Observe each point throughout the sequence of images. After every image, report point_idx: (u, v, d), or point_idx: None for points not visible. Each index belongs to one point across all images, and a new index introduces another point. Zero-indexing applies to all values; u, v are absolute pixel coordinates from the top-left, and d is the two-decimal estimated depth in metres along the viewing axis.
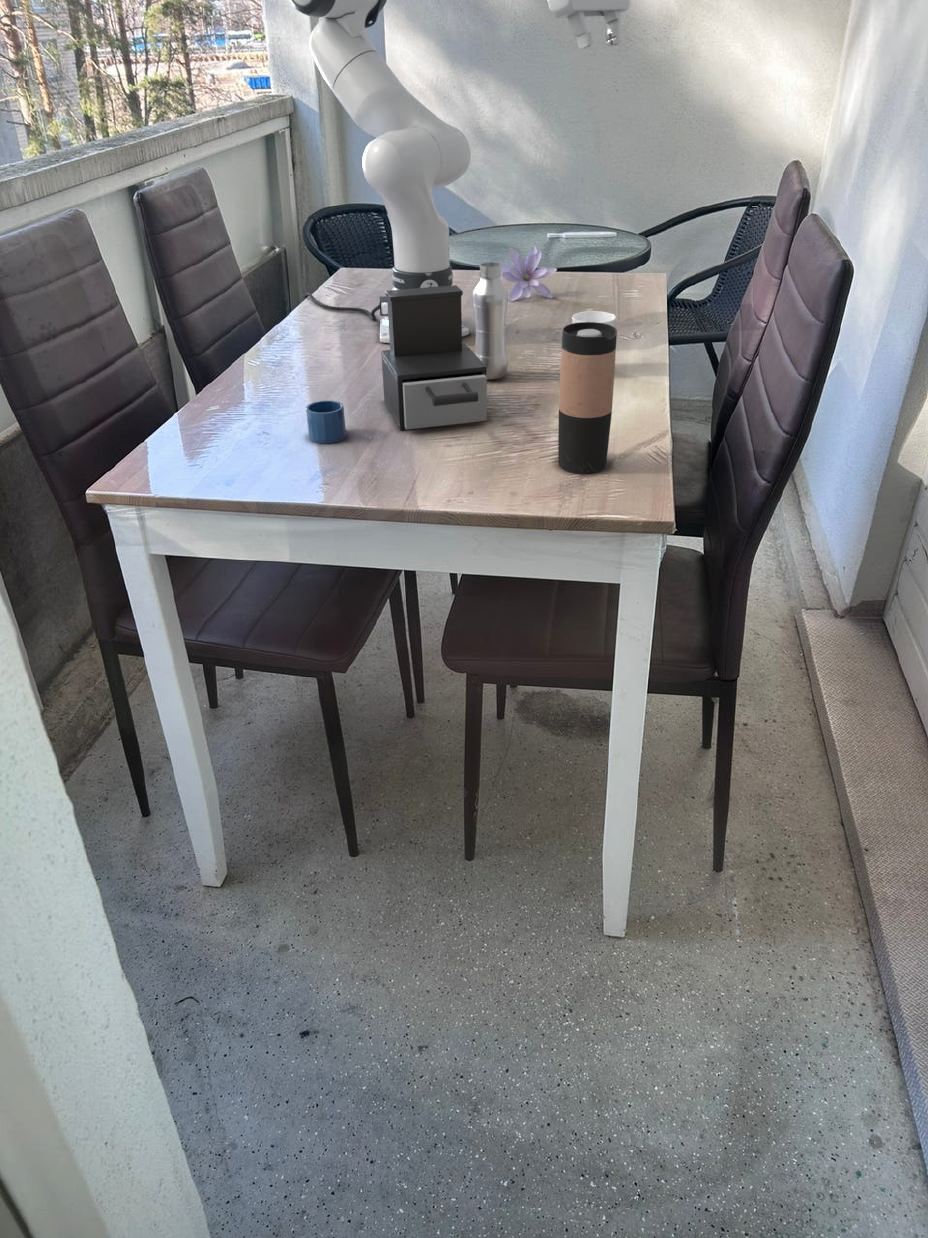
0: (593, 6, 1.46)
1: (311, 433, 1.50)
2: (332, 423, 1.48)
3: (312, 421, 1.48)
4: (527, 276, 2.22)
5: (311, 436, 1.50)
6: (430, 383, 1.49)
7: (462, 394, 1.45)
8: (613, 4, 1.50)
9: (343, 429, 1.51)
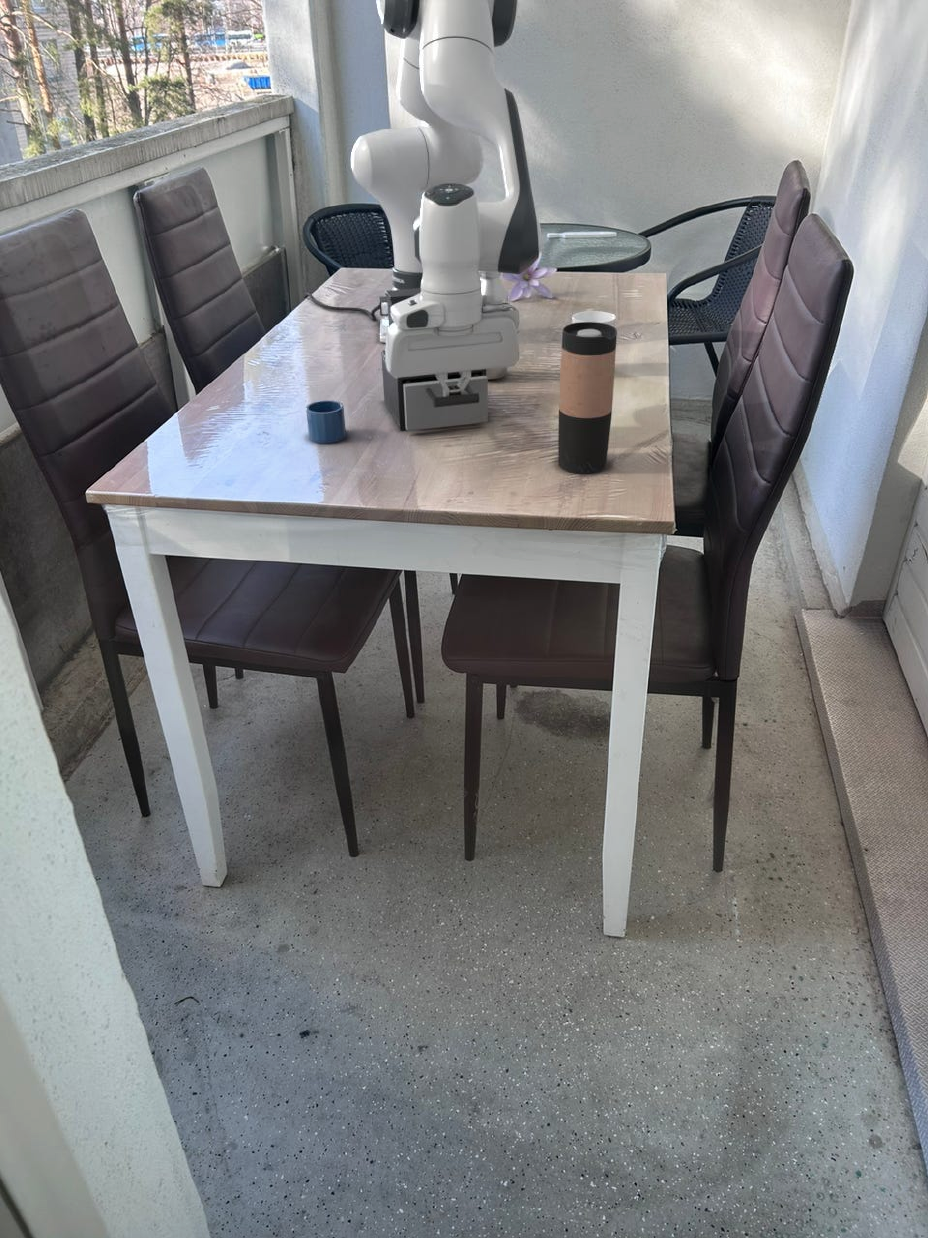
0: (436, 372, 1.41)
1: (311, 433, 1.50)
2: (332, 423, 1.48)
3: (312, 421, 1.48)
4: (527, 276, 2.22)
5: (311, 436, 1.50)
6: (431, 384, 1.48)
7: (463, 395, 1.44)
8: (478, 366, 1.43)
9: (343, 429, 1.51)
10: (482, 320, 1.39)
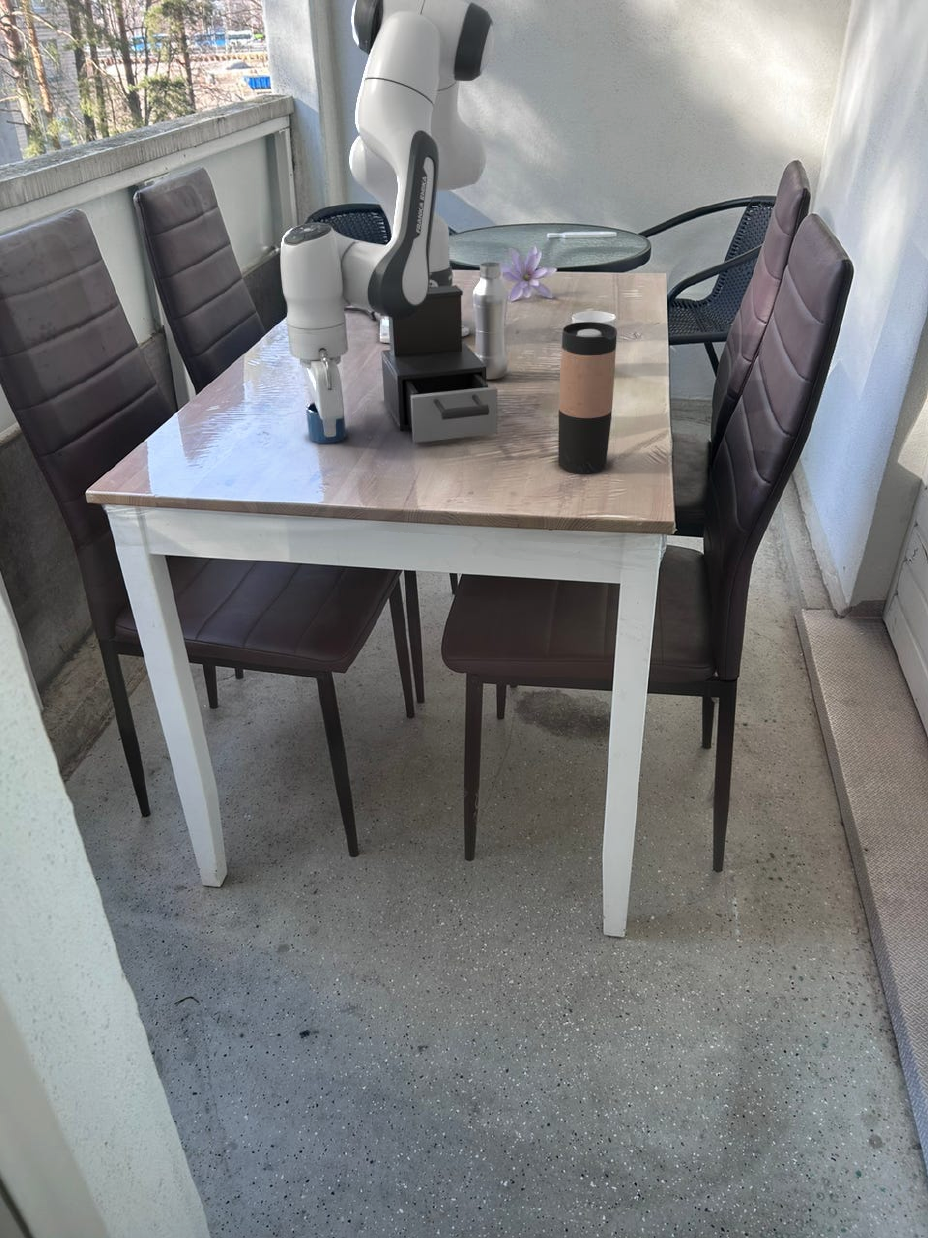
0: None
1: (311, 433, 1.50)
2: None
3: (312, 421, 1.48)
4: (527, 276, 2.22)
5: (311, 436, 1.50)
6: (439, 395, 1.44)
7: (472, 407, 1.40)
8: None
9: (343, 429, 1.51)
10: (312, 361, 1.41)
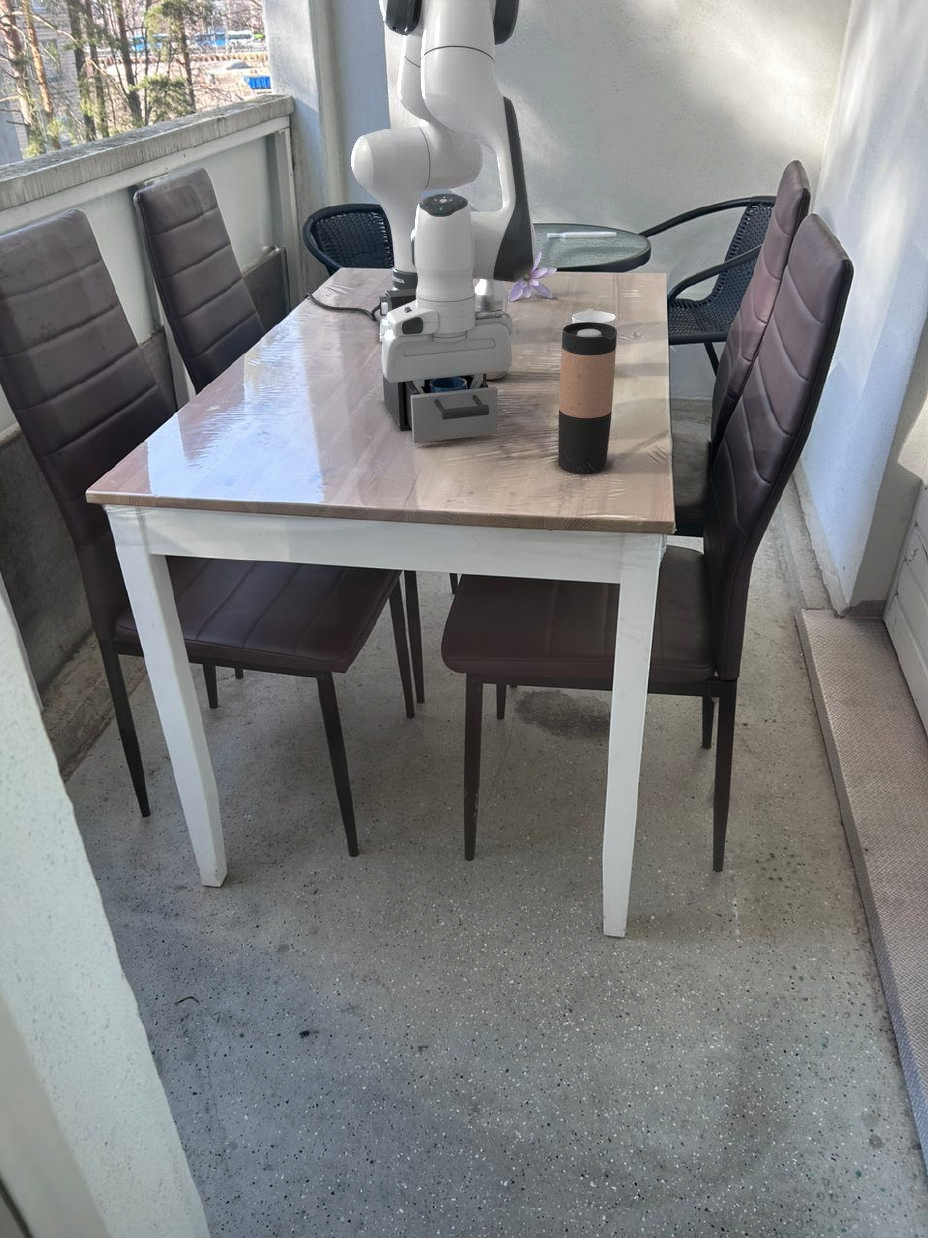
0: (431, 377, 1.45)
1: None
2: None
3: None
4: (527, 276, 2.22)
5: None
6: (439, 395, 1.44)
7: (472, 407, 1.40)
8: (472, 372, 1.46)
9: None
10: (476, 326, 1.43)
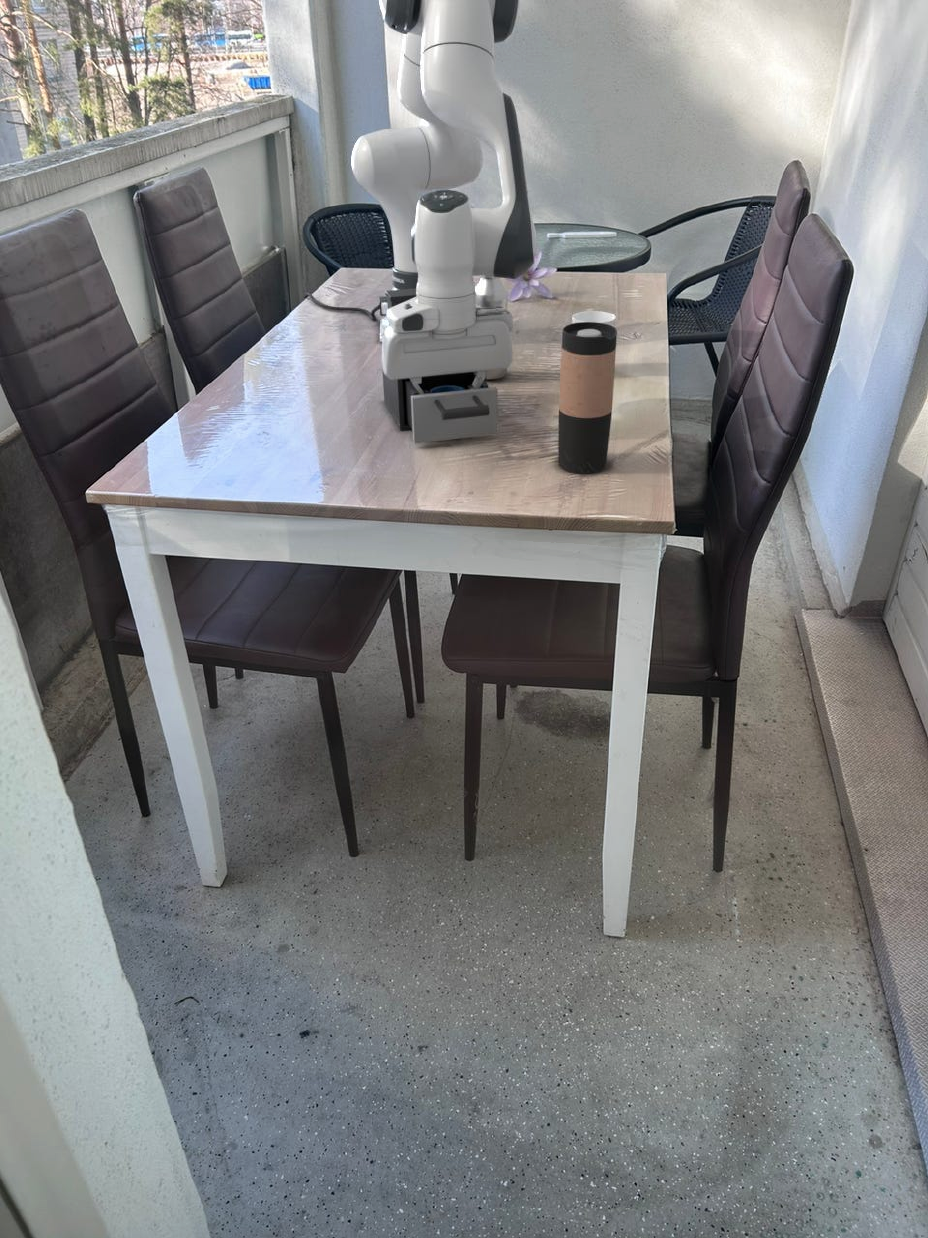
0: (431, 374, 1.45)
1: None
2: None
3: None
4: (527, 276, 2.22)
5: None
6: (439, 396, 1.44)
7: (473, 408, 1.40)
8: (472, 368, 1.46)
9: None
10: (476, 323, 1.43)
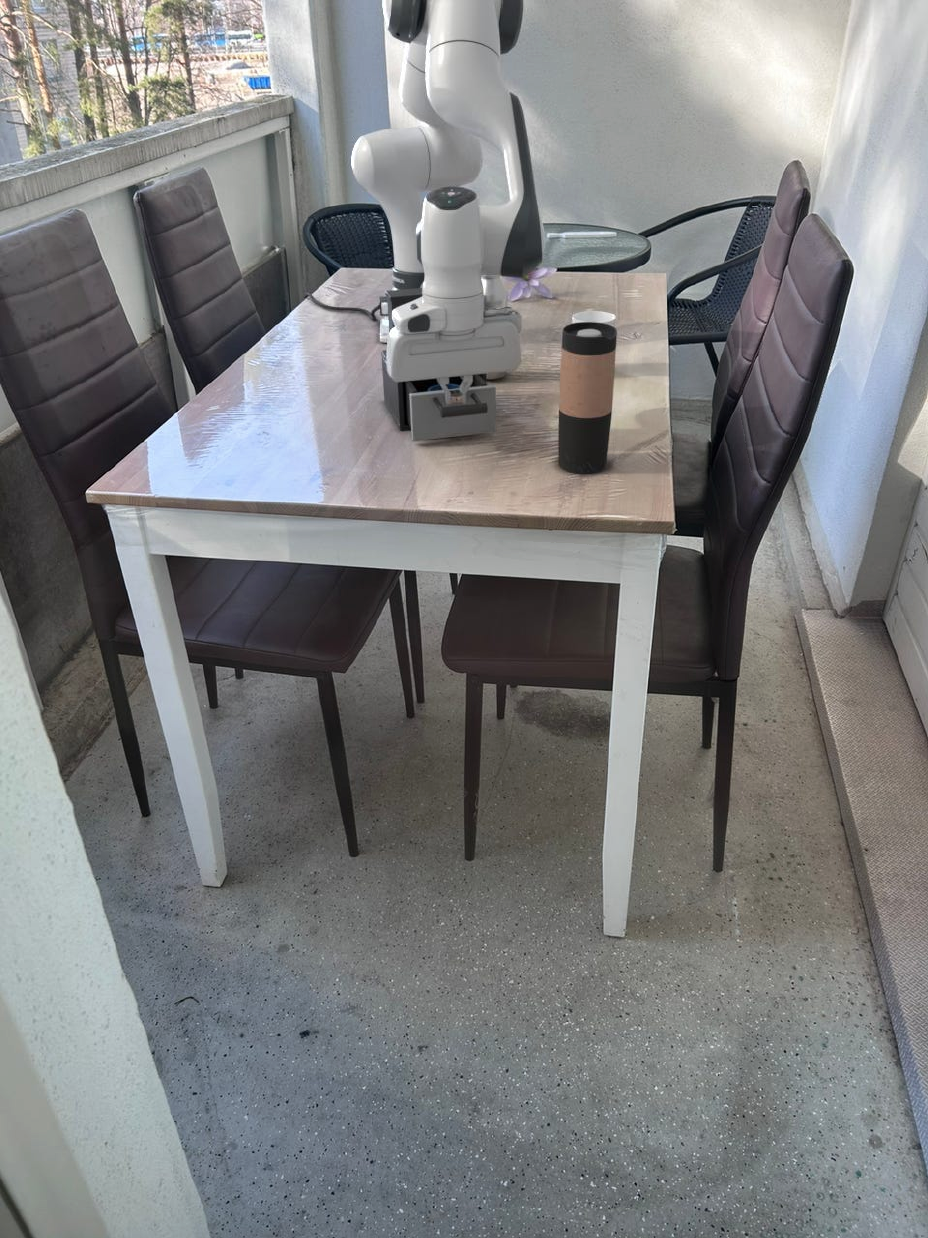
0: (438, 376, 1.41)
1: None
2: None
3: None
4: (527, 276, 2.22)
5: None
6: (438, 394, 1.45)
7: (471, 405, 1.41)
8: (480, 371, 1.42)
9: None
10: (484, 324, 1.38)
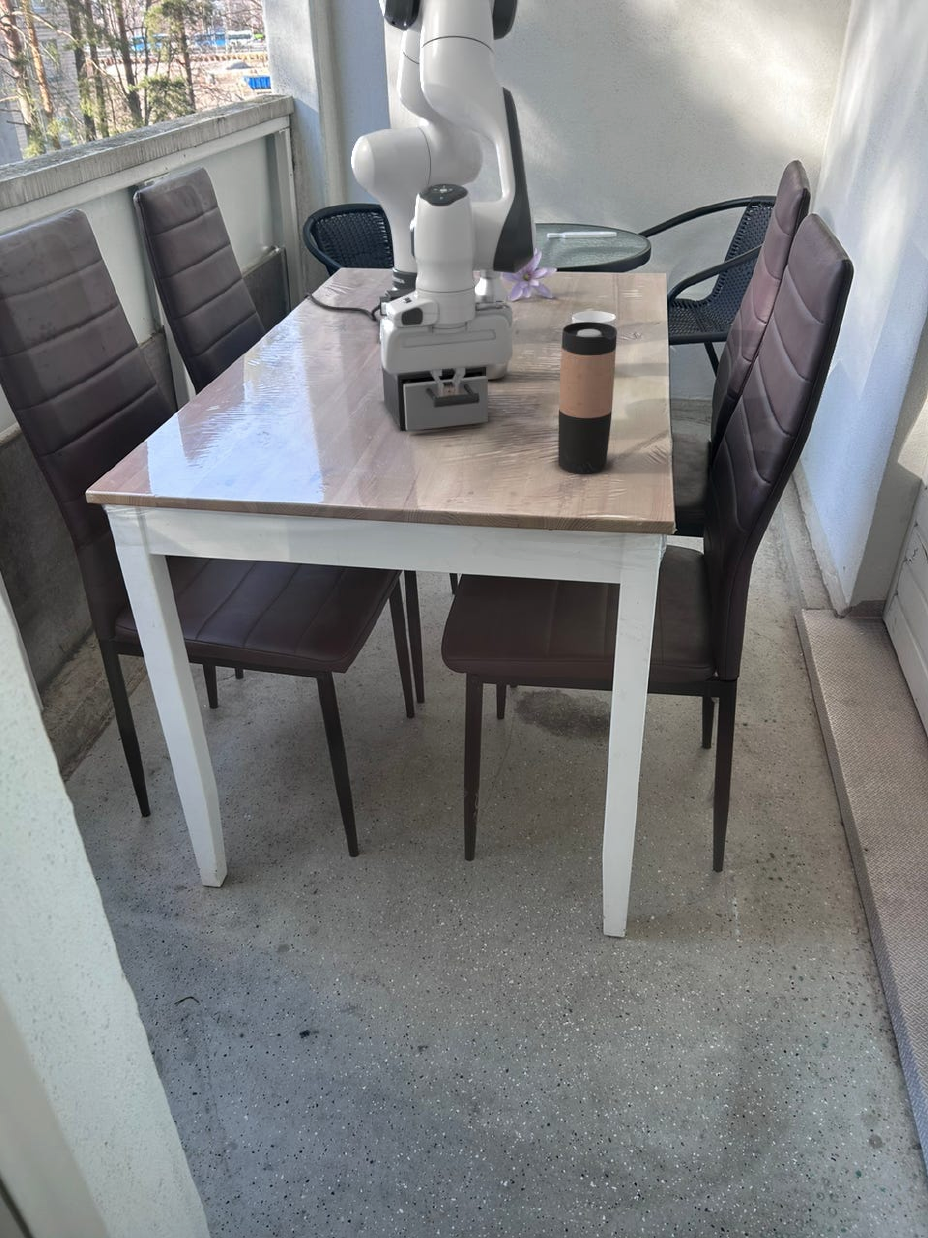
0: (431, 368, 1.44)
1: None
2: None
3: None
4: (527, 276, 2.22)
5: None
6: (431, 384, 1.48)
7: (463, 395, 1.44)
8: (472, 363, 1.45)
9: None
10: (476, 317, 1.42)
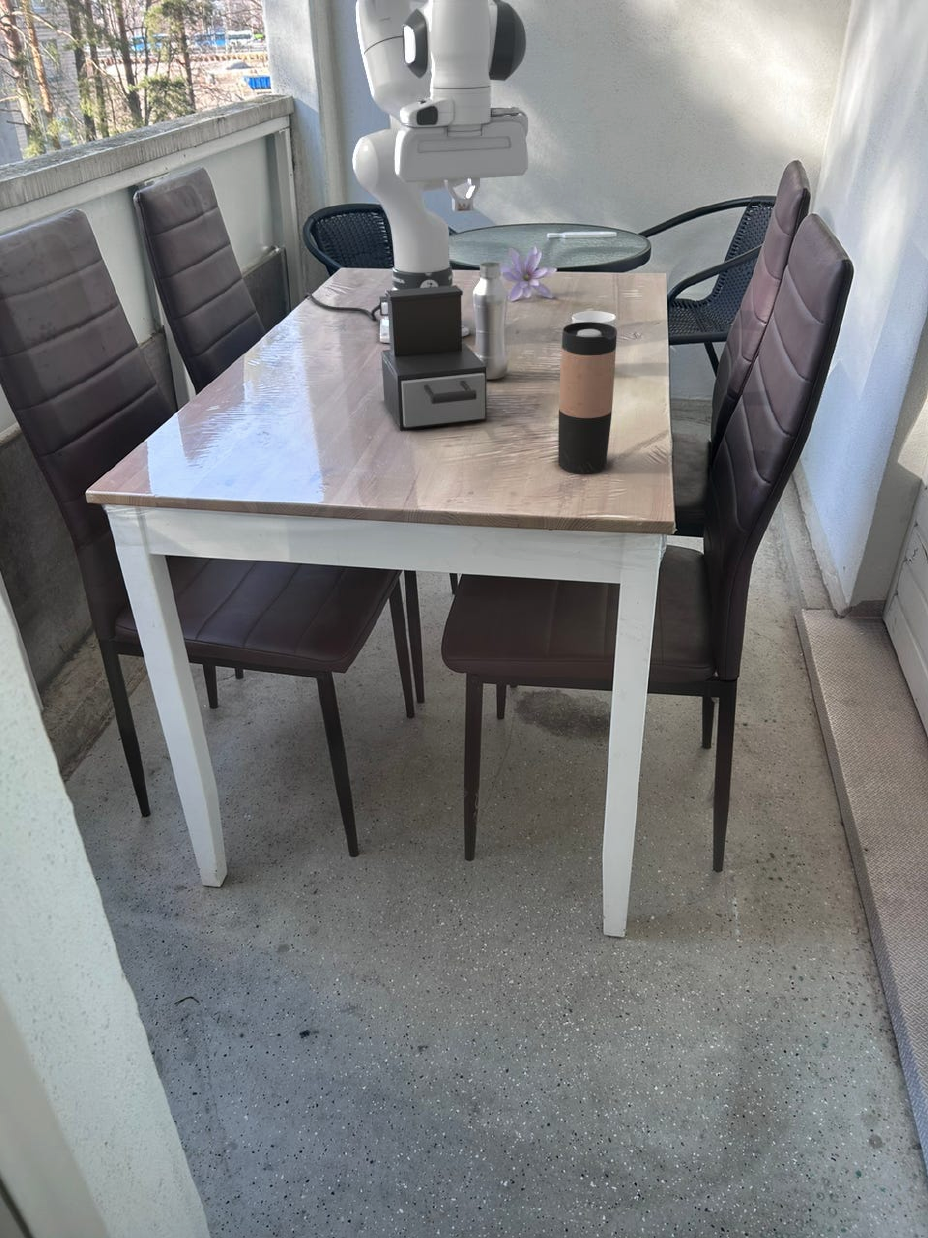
0: (445, 177, 1.42)
1: None
2: None
3: None
4: (527, 276, 2.22)
5: None
6: (429, 381, 1.50)
7: (460, 392, 1.46)
8: (487, 173, 1.44)
9: None
10: (491, 122, 1.40)
